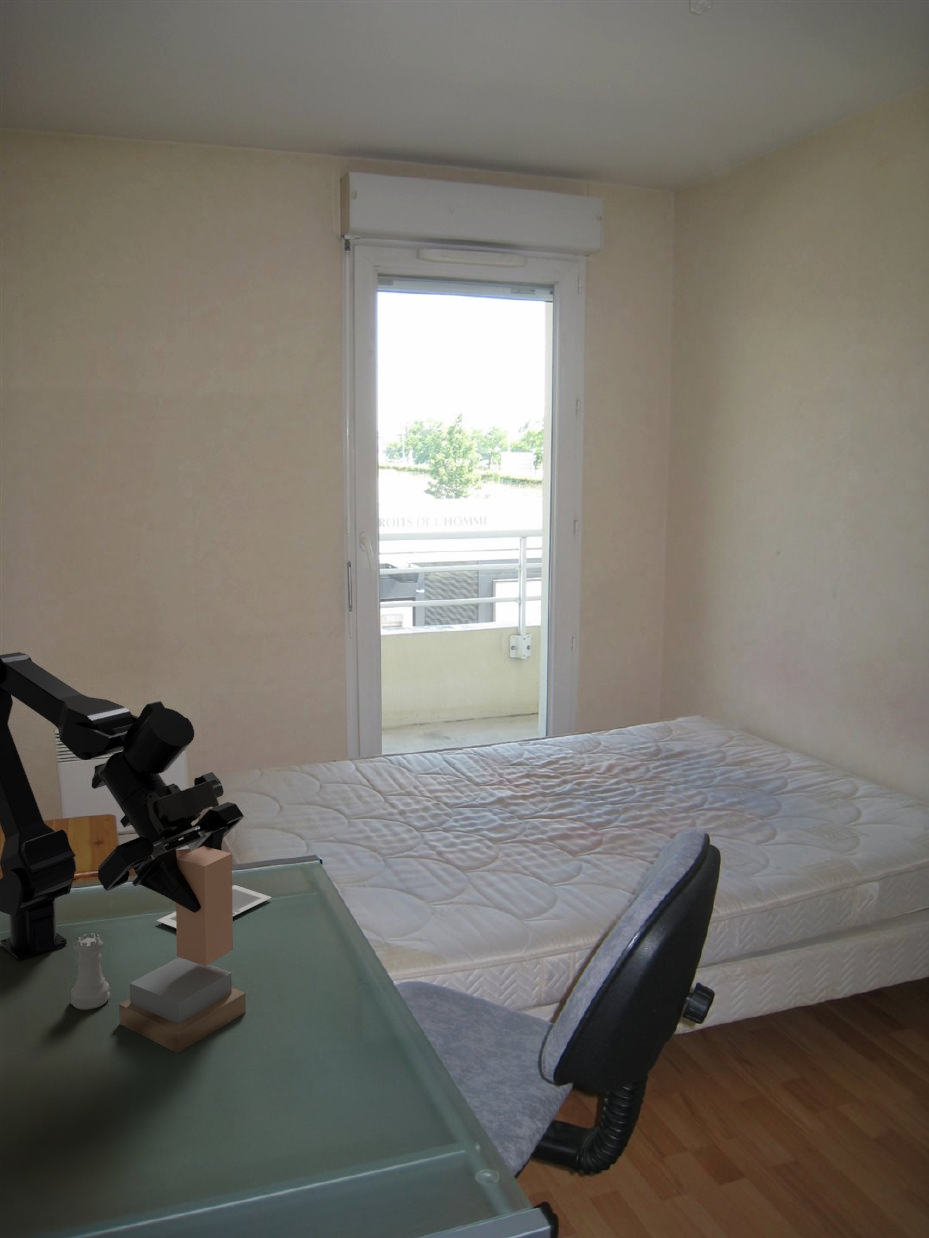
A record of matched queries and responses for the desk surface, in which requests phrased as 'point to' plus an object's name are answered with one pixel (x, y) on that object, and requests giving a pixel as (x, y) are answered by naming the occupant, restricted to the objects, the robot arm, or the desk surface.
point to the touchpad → (240, 903)
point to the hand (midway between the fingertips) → (213, 902)
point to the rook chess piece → (89, 975)
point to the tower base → (187, 1031)
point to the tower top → (180, 989)
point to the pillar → (206, 906)
